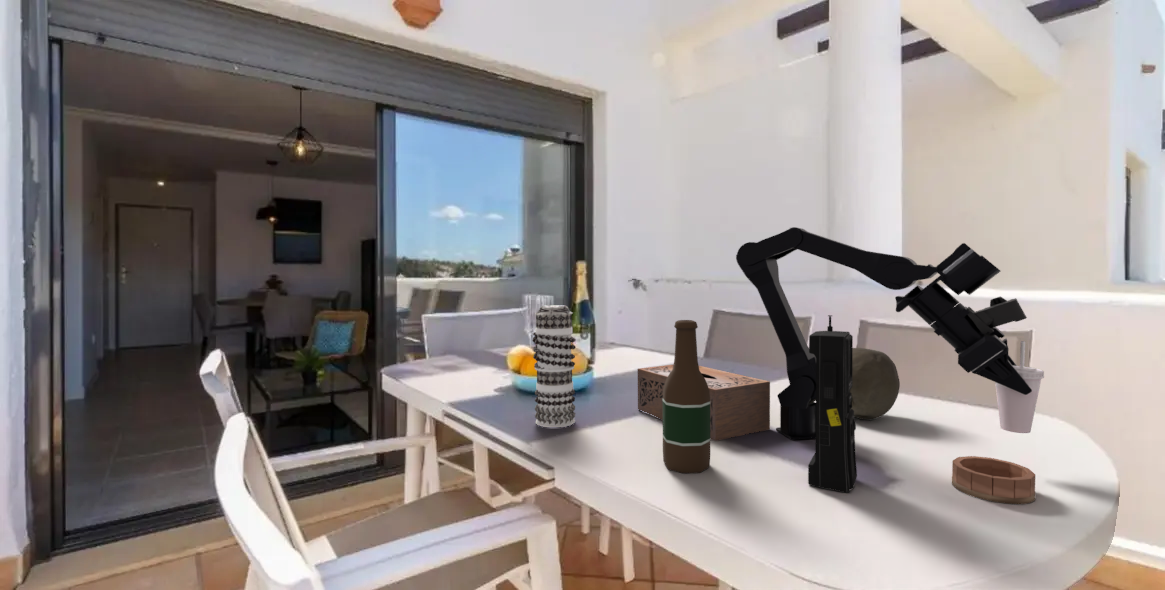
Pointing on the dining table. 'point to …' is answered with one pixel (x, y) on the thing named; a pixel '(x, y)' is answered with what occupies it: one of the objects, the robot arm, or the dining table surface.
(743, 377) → the tissue box cover
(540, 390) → the decorative candle
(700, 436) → the beer bottle
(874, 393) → the round brown rock
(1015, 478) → the round brown planter pot
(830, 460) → the portable radio
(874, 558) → the dining table surface
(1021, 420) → the smoothie
